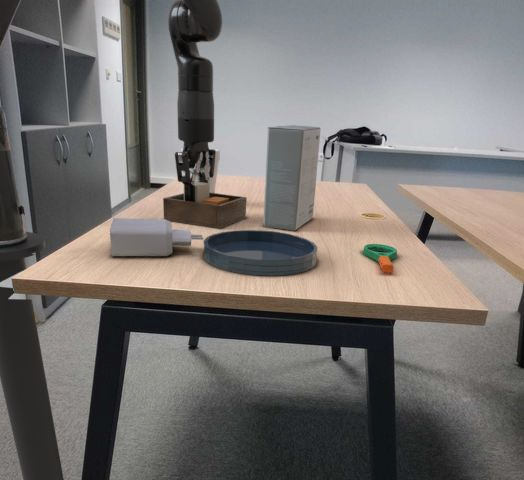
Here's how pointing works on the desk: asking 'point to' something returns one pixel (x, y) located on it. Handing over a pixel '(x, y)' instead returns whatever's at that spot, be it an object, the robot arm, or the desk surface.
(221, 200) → the orange block
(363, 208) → the desk surface
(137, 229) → the charger
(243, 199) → the holder
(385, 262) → the magnifying glass
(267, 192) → the hard drive box
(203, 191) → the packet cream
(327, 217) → the desk surface
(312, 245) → the dark blue round tray
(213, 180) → the foam cup
